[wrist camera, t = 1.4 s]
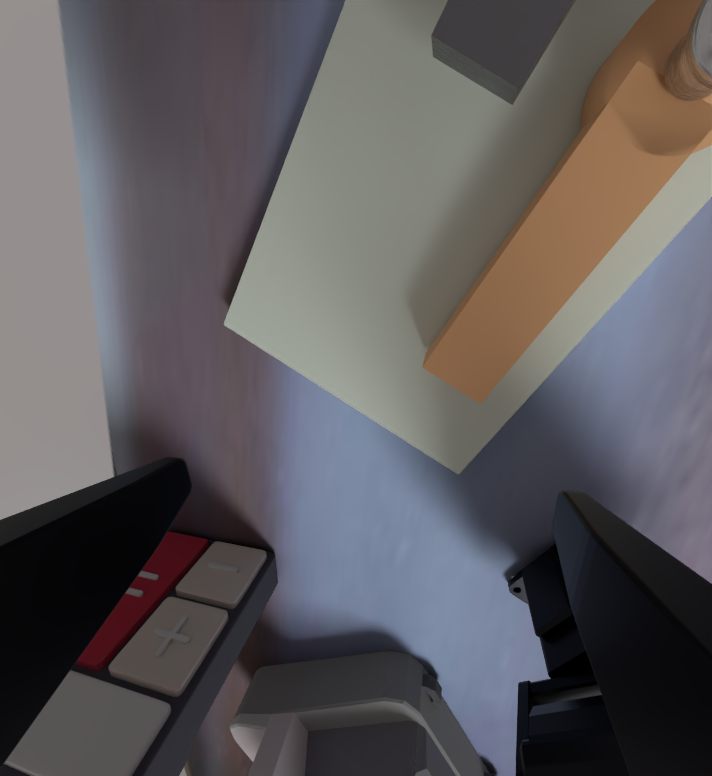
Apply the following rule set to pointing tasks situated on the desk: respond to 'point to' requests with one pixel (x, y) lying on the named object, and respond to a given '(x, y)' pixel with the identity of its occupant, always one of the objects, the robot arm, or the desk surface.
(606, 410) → the desk surface
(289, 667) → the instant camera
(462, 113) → the base board
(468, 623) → the desk surface
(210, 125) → the desk surface
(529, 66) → the keeper
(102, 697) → the calculator
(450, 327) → the link
